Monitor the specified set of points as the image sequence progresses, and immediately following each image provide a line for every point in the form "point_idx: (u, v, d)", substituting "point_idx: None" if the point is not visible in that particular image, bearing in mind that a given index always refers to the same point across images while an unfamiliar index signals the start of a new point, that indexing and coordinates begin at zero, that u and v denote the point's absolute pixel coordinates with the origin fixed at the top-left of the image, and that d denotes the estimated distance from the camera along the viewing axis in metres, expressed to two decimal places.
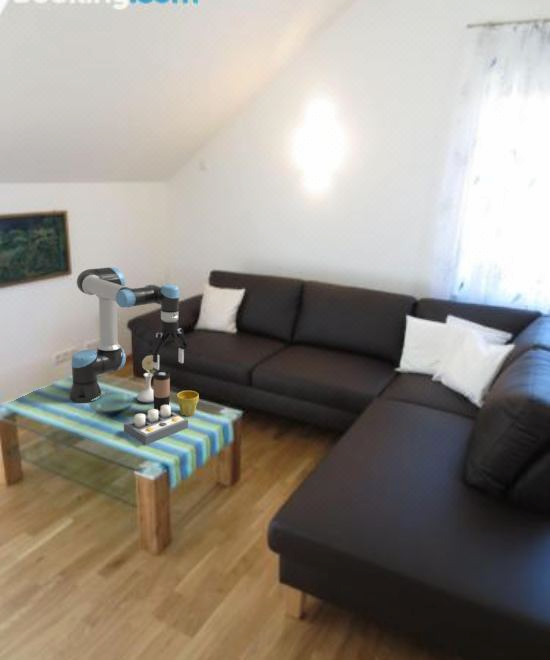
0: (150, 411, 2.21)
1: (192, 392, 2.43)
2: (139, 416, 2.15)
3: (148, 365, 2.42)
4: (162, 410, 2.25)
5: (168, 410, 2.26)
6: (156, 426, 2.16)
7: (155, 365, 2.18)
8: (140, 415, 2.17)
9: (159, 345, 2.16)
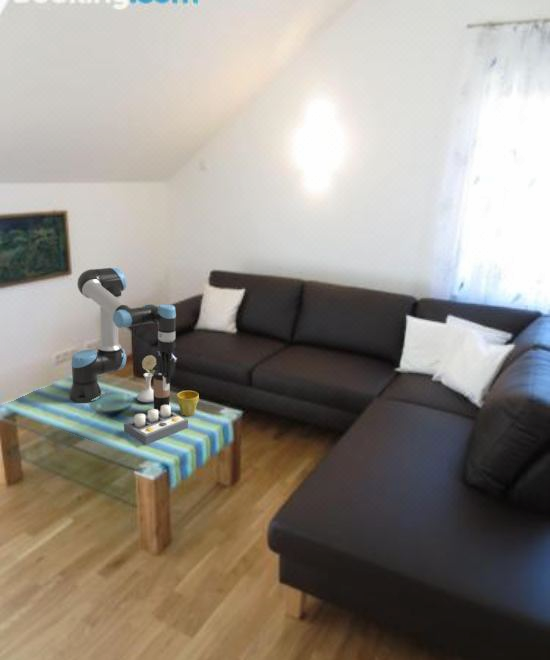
0: (150, 411, 2.21)
1: (192, 392, 2.43)
2: (139, 416, 2.15)
3: (148, 365, 2.42)
4: (162, 410, 2.25)
5: (168, 410, 2.26)
6: (156, 426, 2.16)
7: None
8: (140, 415, 2.17)
9: None
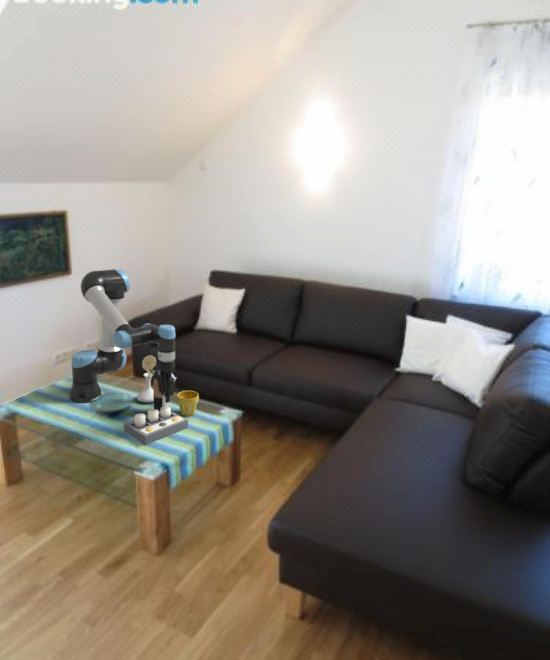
0: (150, 411, 2.21)
1: (192, 392, 2.43)
2: (139, 416, 2.15)
3: (148, 365, 2.42)
4: (162, 412, 2.25)
5: (168, 412, 2.26)
6: (156, 426, 2.16)
7: None
8: (140, 415, 2.17)
9: None
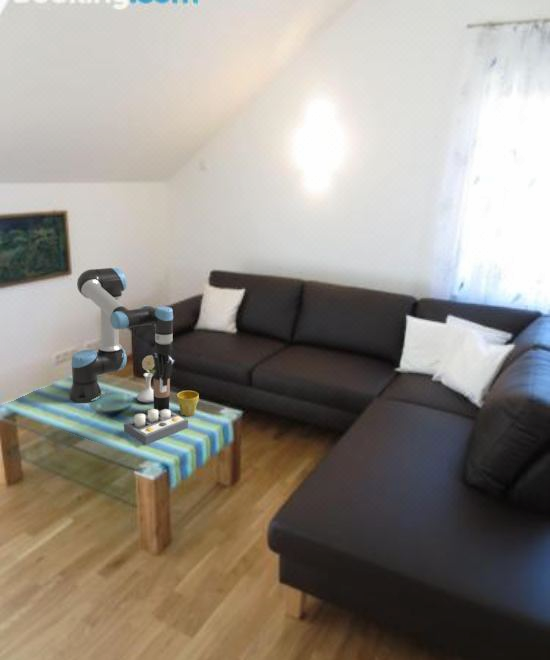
0: (150, 411, 2.21)
1: (192, 392, 2.43)
2: (139, 416, 2.15)
3: (148, 365, 2.42)
4: (162, 415, 2.26)
5: (168, 415, 2.26)
6: (156, 426, 2.16)
7: None
8: (140, 415, 2.17)
9: None
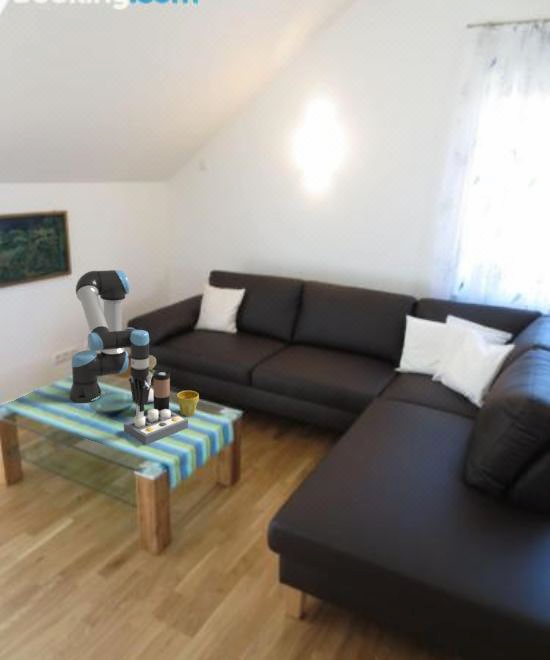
0: (150, 411, 2.21)
1: (192, 392, 2.43)
2: (139, 418, 2.16)
3: None
4: (162, 415, 2.26)
5: (168, 415, 2.26)
6: (156, 426, 2.16)
7: None
8: None
9: None
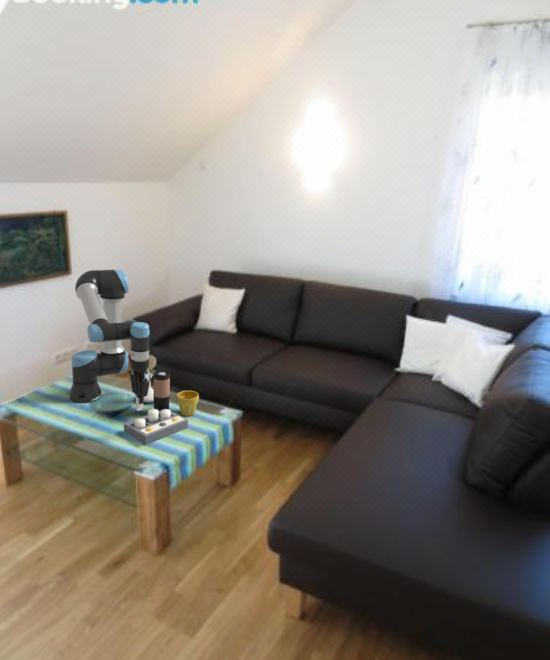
0: (150, 411, 2.21)
1: (192, 392, 2.43)
2: (139, 421, 2.16)
3: None
4: (162, 415, 2.26)
5: (168, 415, 2.26)
6: (156, 426, 2.16)
7: None
8: (140, 420, 2.17)
9: None
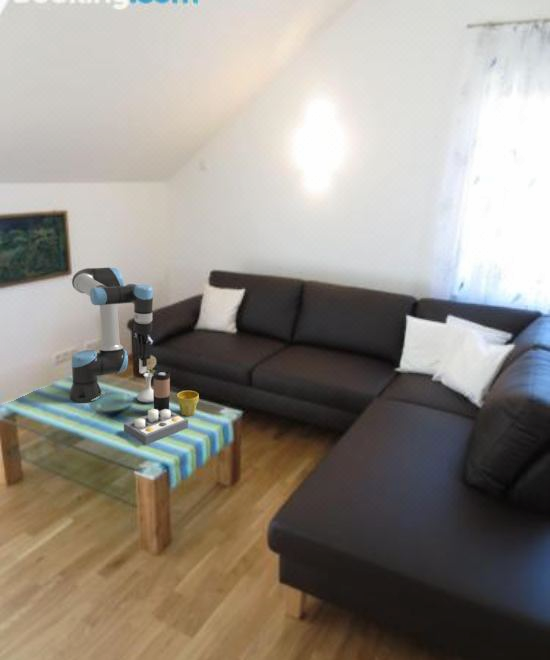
0: (150, 411, 2.21)
1: (192, 392, 2.43)
2: (139, 421, 2.16)
3: (148, 365, 2.42)
4: (162, 415, 2.26)
5: (168, 415, 2.26)
6: (156, 426, 2.16)
7: None
8: (140, 420, 2.17)
9: None
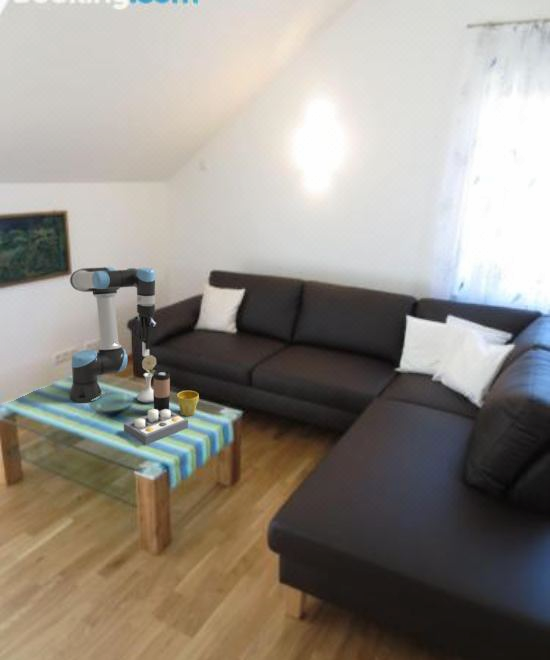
0: (150, 411, 2.21)
1: (192, 392, 2.43)
2: (139, 421, 2.16)
3: (148, 365, 2.42)
4: (162, 415, 2.26)
5: (168, 415, 2.26)
6: (156, 426, 2.16)
7: None
8: (140, 420, 2.17)
9: None
